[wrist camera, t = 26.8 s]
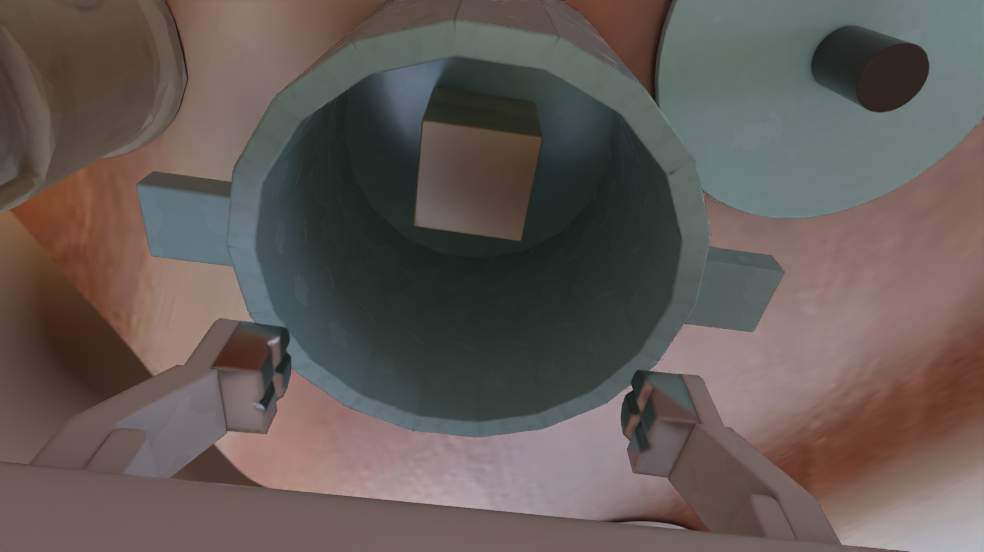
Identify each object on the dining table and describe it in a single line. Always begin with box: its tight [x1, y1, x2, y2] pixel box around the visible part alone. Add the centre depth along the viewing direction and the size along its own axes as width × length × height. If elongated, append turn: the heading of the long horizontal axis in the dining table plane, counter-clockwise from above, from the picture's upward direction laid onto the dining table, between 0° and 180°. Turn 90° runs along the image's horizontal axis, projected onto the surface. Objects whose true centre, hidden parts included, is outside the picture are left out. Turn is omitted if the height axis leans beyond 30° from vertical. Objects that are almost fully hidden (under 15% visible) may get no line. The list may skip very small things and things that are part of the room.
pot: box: [136, 0, 785, 437], centre depth 21 cm, size 14×19×12 cm
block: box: [413, 87, 543, 241], centre depth 24 cm, size 4×4×4 cm
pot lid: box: [655, 0, 984, 219], centre depth 22 cm, size 15×15×5 cm
